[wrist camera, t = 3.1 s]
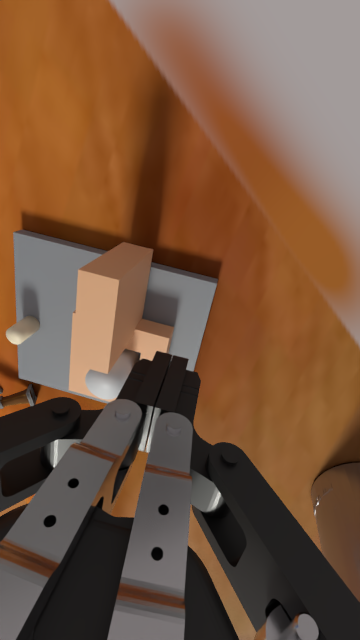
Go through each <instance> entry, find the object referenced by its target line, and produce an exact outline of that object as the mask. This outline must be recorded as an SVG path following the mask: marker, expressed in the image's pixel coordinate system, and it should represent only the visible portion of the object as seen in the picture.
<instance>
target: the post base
mask: <svg viewBox="0 0 360 640" xmlns="http://www.w3.org/2000/svg"><path fill="white" fill-rule="evenodd" d="M13 233H14V260H15V288H16V315H17V323H16V324H15V325H13V326H12V327H10V328H9V329H7V331H6V336H7V338H8V340H9V341H10V342H12V343H13V344H18V370H19V378H21V379H24V380H28V381H31V382H34V383H38V384H41V385H45V386H48V387H52V388H55V389H59V390H62V391H66V392H69V393H73V394H76V395H79V396H83V397H86V398H90V399H93V400H97V401H100V402H104V403H107V404H108V403H110V402H108V401H105V400H101V399H106V400H109V399H114V398H116V397H117V396H118V394H119V392H120V391H121V389H122V387H123V385H124V383H125V381H126V379H127V378H128V375H129V374H130V372H131V370H132V368H133V366H134V364H135V363H136V362H138V361H139V360H140V356H141V353H139V352H136V351H132V350H128V349H124V351H123V352H122V354H121V355H120V357H119V358H118V360H117V361H116V363H115V364H114V366H113V367H112V369H111V370H110V372H109V373H108V374H105V373H102V372H98V371H95V370H91V369H90V370H89V371H88V373H87V374H86V377H85V383H86V386H87V388H88V389H89V391H90V392H91V393H92V394H94V395H95V396H97V397H99V398H101V399H98V398H94V397H91V396H87V395H84V394H80V393H77V392H74V391H70V390H69V373H70V354H71V335H72V316H73V312H74V311H75V310H76V297H77V280H78V269H80V268H81V267H83V266H85V265H86V264H88V263H90V262H91V261H93V260H95V259H96V258H98V257H99V256H101V255H103V254H104V253H106V252H108V251H105V250H101V249H97V248H93V247H89V246H85V245H81V244H77V243H74V242H70V241H66V240H62V239H58V238H54V237H50V236H46V235H42V234H38V233H34V232H30V231H26V230H19V231H16V232H13ZM217 281H218V279H216V278H212V277H208V276H204V275H200V274H196V273H192V272H188V271H184V270H180V269H176V268H172V267H169V266H165V265H161V264H157V263H153V262H151V268H150V274H149V280H148V286H147V292H146V298H145V304H144V310H143V316H142V319H145V320H149V321H153V322H156V323H160V324H164V325H168V326H171V327H174V330H173V335H172V339H171V344H170V348H169V353H168V354H172V358H173V355H176V356H179V357H183V358H187V359H189V360H188V364H187V368H186V370H189V371H194V367H195V363H196V360H197V356H198V352H199V349H200V345H201V341H202V337H203V334H204V330H205V326H206V323H207V319H208V315H209V311H210V308H211V304H212V300H213V297H214V293H215V289H216V285H217ZM171 360H172V359H171Z"/></svg>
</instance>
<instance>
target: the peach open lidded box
mask: <svg viewBox="0 0 360 640" xmlns="http://www.w3.org/2000/svg"><path fill="white" fill-rule="evenodd" d="M152 255H153V249H150V248H145V247H141V246H137V245H133V244H129V243H125V242H122V243H121V244H119V245H118V246H116V247H114V248H113V249H111V250H109V251H108V252H106V253H104V254H103V255H101V256H99V257H98V258H96V259H95V260H93V261H91V262H90V263H88V264H86V265H85V266H83V267H81V268H80V269H78V280H77V297H76V310H75V311H74V312H73V316H72V335H71V354H70V373H69V390H70V391H74V392H77V393H80V394H84V395H87V396H91V397H94V398H98V399H101V398H99V397H97V396H95V395H94V394H92V393H91V392H90V391H89V389H88V388H87V386H86V383H85V377H86V374H87V373H88V371H89V370H90V369H91V370H95V371H98V372H102V373H105V374H108V373H109V372H110V370H111V369H112V367H113V366H114V364H115V363H116V361H117V360H118V358H119V357H120V355H121V354H122V352H123V351H124V349H128V350H132V351H136V352H139V353H141V356H140V360H141V359H142V358H143V359H147V360H151V361H152V360H153V358H154V356H155V353H156V351H160V352H164V353H169V348H170V344H171V339H172V335H173V330H174V327H171V326H168V325H164V324H160V323H156V322H153V321H149V320H145V319H142V316H143V310H144V304H145V298H146V292H147V286H148V280H149V274H150V268H151V261H152ZM116 398H117V397H116ZM116 398H114V399H109V400H106V399H101V400H105V401H108V402H111V401H114V400H116Z"/></svg>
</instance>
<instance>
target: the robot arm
mask: <svg viewBox="0 0 360 640" xmlns="http://www.w3.org/2000/svg"><path fill="white" fill-rule="evenodd" d="M171 359H172V360H171ZM188 360H189V359H187V358H183V357H179V356H176V355H173V358H172V354H168V353H164V352H160V351H156V353H155V356H154V358H153V360H152V361H151V360H147V359H143V358H142V359H141V360H139V361H138V362H136V363H135V364H134V366H133V368H132V370H131V372H130V374H129V375H128V378H127V379H126V381H125V383H124V385H123V387H122V389H121V391H120V392H119V394H118V396H117V398H116V400H114V401H111V402H110V403H108V404H107V405H106V406H105V408H104V409H100V410H81V407H80V405H79V403H78V402H77V401H75V400H73V399H71V398H67V397H58V398H54V399H51V400H48V401H45V402H42V403H39V404H36V405H34V406H31V407H28V408H25V409H22V410H19V411H16V412H14V413H11V414H8V415H5V416H2V417H0V512H1V511H3V510H5V509H7V508H9V507H11V506H12V505H14V504H16V503H18V502H20V501H22V500H24V499H26V498H28V497H30V496H32V495H33V494H35V493H36V494H35V496H34V497H33V498H32V500H31V501H30V503H29V504H26V505H23V506H20V507H18V508H16V509H13V510H11V511H9V512H8V513H6V514H4V515H2V516H1V517H0V640H239V638H238V636H237V634H236V632H235V630H234V627H233V625H232V623H231V621H230V619H229V616H228V614H227V612H226V610H225V608H224V606H223V603H222V601H221V599H220V597H219V595H218V592H217V590H216V588H215V586H214V584H213V582H212V579H211V577H210V575H209V573H208V571H207V569H206V567H205V566H204V564H203V562H202V561H201V559H200V558H199V557H198V556H197V554H196V553H195V552H194V551H193V550H192V549H191V548H190V547H189V546H188V533H189V518H190V504H192V510H193V513H194V515H195V517H196V519H197V521H198V523H199V525H200V527H201V528H202V530H203V532H204V534H205V536H206V538H207V540H208V542H209V543H210V545H211V547H212V549H213V551H214V553H215V555H216V557H217V559H218V560H219V562H220V564H221V566H222V568H223V570H224V572H225V574H226V576H227V577H228V579H229V581H230V583H231V585H232V587H233V589H234V591H235V593H236V594H237V596H238V598H239V600H240V602H241V604H242V606H243V608H244V609H245V611H246V613H247V615H248V617H249V619H250V621H251V623H252V625H253V626H254V628H255V630H256V632H257V633H256V635H255V638H254V640H360V463H349V464H343V465H340V466H336V467H333V468H331V469H329V470H327V471H325V472H324V473H323V474H321V475H320V476H319V477H318V478H317V479H316V481H315V482H314V484H313V486H312V489H311V498H312V503H313V509H314V515H315V518H316V523H317V528H318V533H319V538H320V543H321V548H322V553H323V554H322V553H321V552H320V550H319V549H318V548H317V546H316V545H315V544H314V543H313V541H312V540H311V539H310V537H309V536H308V535H307V533H306V532H305V531H304V530H303V528H302V527H301V526H300V524H299V523H298V522H297V520H296V519H295V518H294V517H293V515H292V514H291V513H290V511H289V510H288V509H287V507H286V506H285V505H284V504H283V502H282V501H281V500H280V498H279V497H278V496H277V494H276V493H275V492H274V491H273V489H272V488H271V487H270V485H269V484H268V483H267V481H266V480H265V479H264V478H263V476H262V475H261V474H260V472H259V471H258V470H257V468H256V467H255V466H254V465H253V463H252V462H251V461H250V459H249V458H248V457H247V455H246V454H245V453H244V452H243V451H242V450H241V449H240V448H239V447H237V446H235V445H233V444H231V443H226V442H221V443H217V444H215V445H211V444H209V443H207V442H206V441H204V440H203V439H202V438H200V437H199V435H198V434H197V433H196V431H195V429H194V426H193V420H194V415H195V409H196V404H197V399H198V393H199V388H200V382H201V380H200V378H199V375H198V373H197V372H193V371H189V370H186V368H187V364H188ZM147 441H148V443H147ZM146 444H147V448H146V452H148V453H149V454H148V459H147V463H146V467H145V472H144V476H143V481H142V485H141V490H140V494H139V499H138V503H137V508H136V512H135V517H134V518H127V517H114V516H111V512H112V510H113V507H114V505H115V503H116V501H117V498H118V496H119V494H120V492H121V490H122V488H123V485H124V483H125V481H126V479H127V477H128V474H129V472H130V470H131V468H132V464H133V461H134V460H135V457H136V454H137V452H138V450H140V451H144V450H145V447H146Z"/></svg>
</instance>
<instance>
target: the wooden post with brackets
mask: <svg viewBox="0 0 360 640" xmlns="http://www.w3.org/2000/svg"><path fill="white" fill-rule="evenodd" d="M2 392H3V390H2V389H1V388H0V394H1V393H2ZM36 400H37V397H36V396H35V393H34V391H33V388H32V384H29V386H28V389H26V390H24V391H21V392H18V393H15V394H13V395H10V396H6V397H3V396H1V397H0V409H3V407H5V406H9V405H16V404H23V403H30V406H34V405H35V403H36Z"/></svg>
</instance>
